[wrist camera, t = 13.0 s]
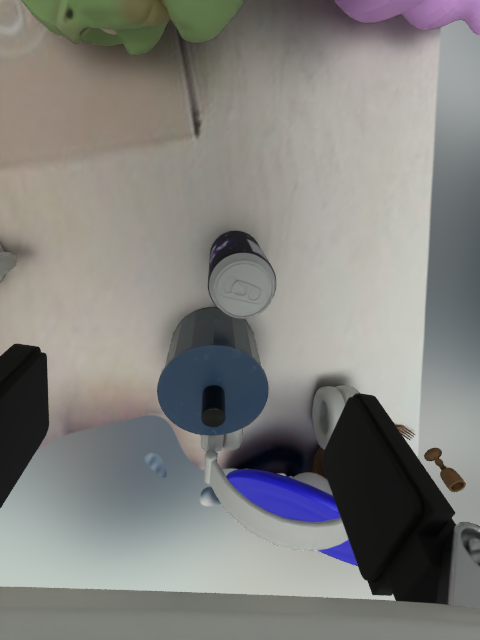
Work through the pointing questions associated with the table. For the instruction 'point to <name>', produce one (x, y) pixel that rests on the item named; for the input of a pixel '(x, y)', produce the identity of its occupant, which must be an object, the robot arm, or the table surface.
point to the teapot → (415, 11)
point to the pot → (212, 332)
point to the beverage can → (240, 275)
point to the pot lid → (212, 389)
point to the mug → (6, 262)
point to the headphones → (255, 517)
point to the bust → (133, 20)
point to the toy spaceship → (293, 500)
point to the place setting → (447, 474)
